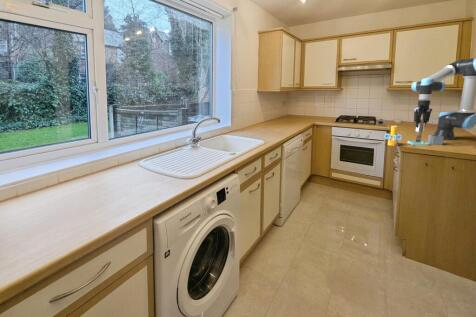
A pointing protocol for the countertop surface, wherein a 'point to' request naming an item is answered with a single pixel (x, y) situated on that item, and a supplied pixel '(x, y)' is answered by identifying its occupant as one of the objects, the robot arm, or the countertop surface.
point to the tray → (418, 143)
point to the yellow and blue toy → (393, 136)
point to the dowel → (419, 131)
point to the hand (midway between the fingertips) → (419, 131)
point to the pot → (435, 139)
